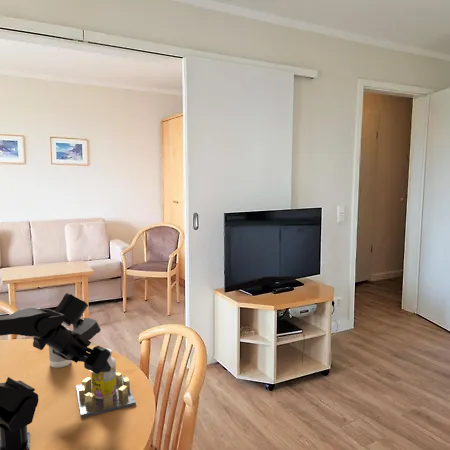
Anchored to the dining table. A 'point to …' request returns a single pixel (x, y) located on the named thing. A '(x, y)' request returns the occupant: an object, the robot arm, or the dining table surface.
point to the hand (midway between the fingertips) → (99, 364)
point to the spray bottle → (57, 358)
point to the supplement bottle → (105, 380)
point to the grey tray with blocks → (104, 397)
